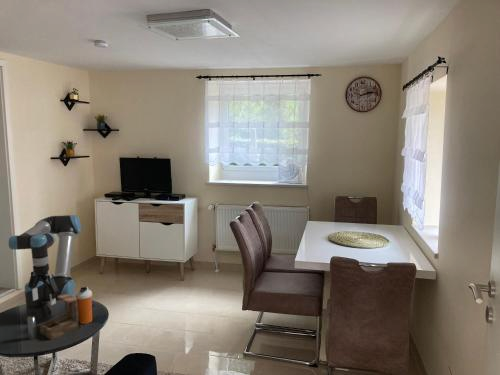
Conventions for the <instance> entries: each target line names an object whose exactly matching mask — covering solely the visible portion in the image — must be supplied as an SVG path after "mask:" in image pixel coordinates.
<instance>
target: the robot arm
mask: <svg viewBox="0 0 500 375" xmlns="http://www.w3.org/2000/svg"><path fill="white" fill-rule="evenodd" d="M81 226H82V225H81V220H80V217H79V216H78V215H74V214H73V215H72V214H70V215H65V214H64V215H51V216H48V217H45V218H43V219H39V220H38V221H36V223H34V226H32V227H30V228H29V229H27V230H26V231H24V232H23V233H21V234H20V235H11V236H9V238H8V248H9V249H10V250H14V251H15V250H31V256H32V257H31V258H32V259H31V260H32V265H33V266H32V270H33V271H30V278H29V281H28V282H27V283H25V284H24V297H25V312H24V316H23V321H24V323H26V324H28V323H27V317H28V316H32V315H34V316H35V322H36V324H38V323H40V324H41V323H43V322H45V321H46V322H47V321H49V320H50V319H51V318H52V317H53V311H52V308H51V307H50V306H53V305H56V304H57V302H58V301H59V302H60V301H61V302H62V301H63V300H61V299H59V298H57V296H59V295H62V294H65V293H66V294H68V295H71V296H73V297H74V293H75V289H76V283H75V280H73V276H71V268H72V260H73V250H74V241H75V239H76V238H77V237H78V234H80V233H81V231H82V227H81ZM55 235H57V236H55ZM56 237H58V238H59V239H58V245H57V246H58V247H57V254H56V261H55V269H54V275H53V273H50V274H49V270H50V264H49V263H50V262H49V253H48V252H49V251H48V250H49V248H51V247H52V246H53V245H54V244H55V242H56ZM49 302H50V305H49ZM63 302H64V301H63Z"/></svg>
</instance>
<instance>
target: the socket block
mask: <svg viewBox="0 0 500 375" xmlns="http://www.w3.org/2000/svg"><path fill="white" fill-rule="evenodd" d="M57 298H59V299H61V300H63V302H64V311H65V312H64V313H65V314H64V315H62V316H60V317H57V318H54V319H52V320H47V321H46V322H44V323H43V322H42V323H40V324H39V330H40V334H41V335H43V336H45V337H46V338H48V339H49V340H50V341H51V340H55V339H56V338H58V337H59V338H60V337H62V336H63V335H66V334H68V333H71V332H74V331H77V330H78V329H80V323H79V315H78V307H77V298H76V296H75V297H74V295H73V296H71V295H68V294H66V293H65V294H62V295H59V296H57Z"/></svg>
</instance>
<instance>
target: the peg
mask: <svg viewBox="0 0 500 375" xmlns="http://www.w3.org/2000/svg"><path fill="white" fill-rule="evenodd" d="M26 324H27V332H28V333H27V334H28V339H29V340H30V341H31V340H36V339H37V336H38V335H37V323H36V322H35V316H34V315H32V316H28V317H27V323H26Z"/></svg>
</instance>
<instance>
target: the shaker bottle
mask: <svg viewBox="0 0 500 375" xmlns="http://www.w3.org/2000/svg"><path fill="white" fill-rule="evenodd" d="M75 298H77V307H78V320H79V324H81V325H87V324H89V322H90V323H91V322H92V321H93V291H92V290H91V289H89V287H88V286H84V287H80V288H79V290H78V291H77V292H76V293H75Z"/></svg>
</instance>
